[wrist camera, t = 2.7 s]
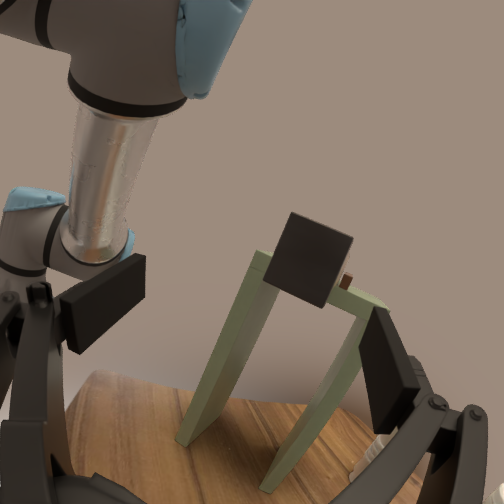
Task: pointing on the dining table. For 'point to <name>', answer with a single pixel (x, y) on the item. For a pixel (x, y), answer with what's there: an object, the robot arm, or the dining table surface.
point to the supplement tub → (496, 496)
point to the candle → (371, 453)
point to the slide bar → (308, 259)
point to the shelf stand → (239, 349)
